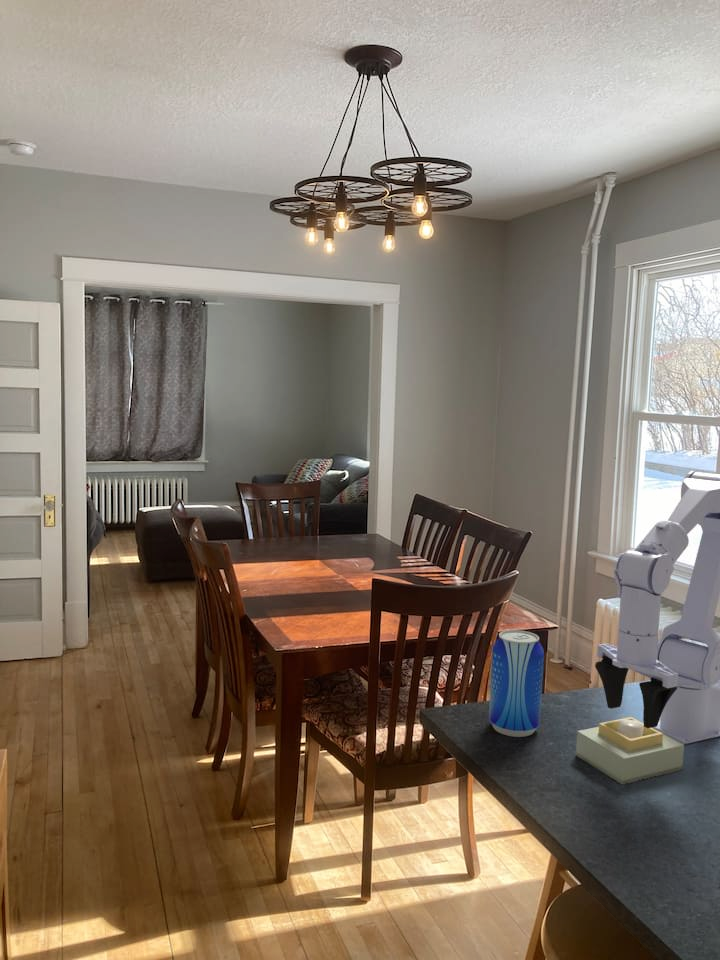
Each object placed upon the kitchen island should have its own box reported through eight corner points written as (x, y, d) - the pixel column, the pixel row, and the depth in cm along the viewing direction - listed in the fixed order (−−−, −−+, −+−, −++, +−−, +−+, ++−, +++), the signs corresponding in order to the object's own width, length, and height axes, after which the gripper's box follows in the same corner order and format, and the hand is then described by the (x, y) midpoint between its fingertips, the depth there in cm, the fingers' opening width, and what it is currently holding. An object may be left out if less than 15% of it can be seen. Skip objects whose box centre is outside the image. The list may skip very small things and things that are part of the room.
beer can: (539, 741, 130) (545, 646, 128) (487, 735, 132) (492, 641, 130) (538, 720, 138) (544, 630, 136) (489, 715, 140) (494, 626, 138)
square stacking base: (633, 742, 131) (635, 710, 130) (682, 769, 122) (685, 735, 121) (575, 755, 126) (578, 721, 125) (622, 784, 117) (624, 748, 116)
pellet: (627, 751, 126) (629, 718, 126) (645, 761, 123) (648, 726, 122) (610, 755, 124) (613, 721, 124) (629, 765, 121) (632, 730, 121)
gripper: (584, 619, 126) (579, 702, 128) (655, 648, 113) (648, 740, 115) (618, 615, 129) (613, 696, 131) (691, 642, 116) (683, 732, 118)
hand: (631, 716), depth 123 cm, fingers open, 7 cm apart
